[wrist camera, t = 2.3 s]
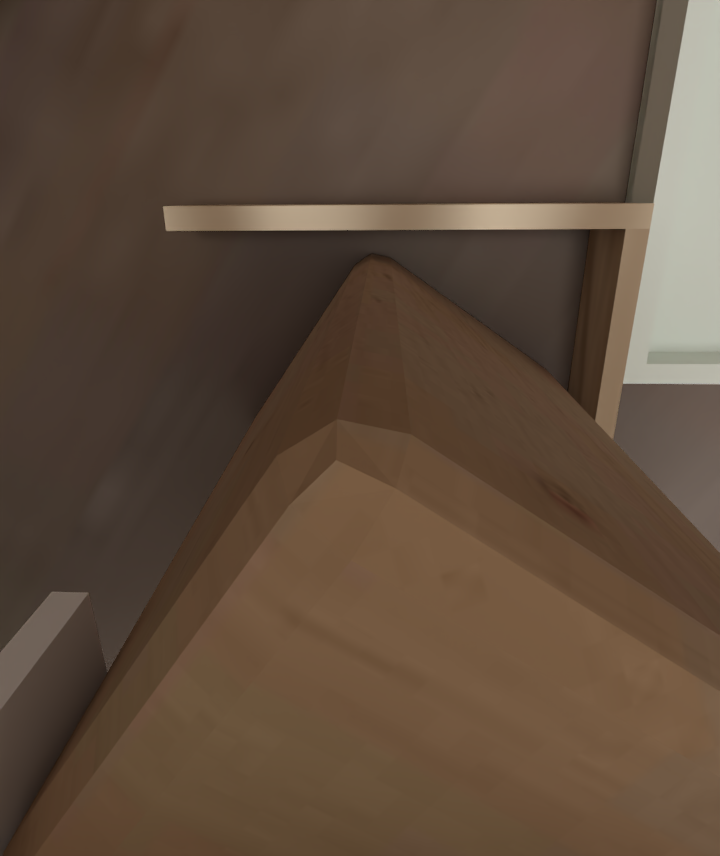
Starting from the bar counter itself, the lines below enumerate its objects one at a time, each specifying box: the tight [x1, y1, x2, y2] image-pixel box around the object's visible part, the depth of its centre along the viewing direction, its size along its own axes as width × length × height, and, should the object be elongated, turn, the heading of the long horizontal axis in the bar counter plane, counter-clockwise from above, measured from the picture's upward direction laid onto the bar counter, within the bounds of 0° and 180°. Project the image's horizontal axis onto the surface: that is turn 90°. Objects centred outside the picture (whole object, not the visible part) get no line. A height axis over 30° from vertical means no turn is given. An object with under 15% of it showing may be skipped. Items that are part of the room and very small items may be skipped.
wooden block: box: [3, 254, 720, 856], centre depth 16 cm, size 10×10×20 cm
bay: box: [163, 202, 654, 440], centre depth 24 cm, size 17×17×4 cm
